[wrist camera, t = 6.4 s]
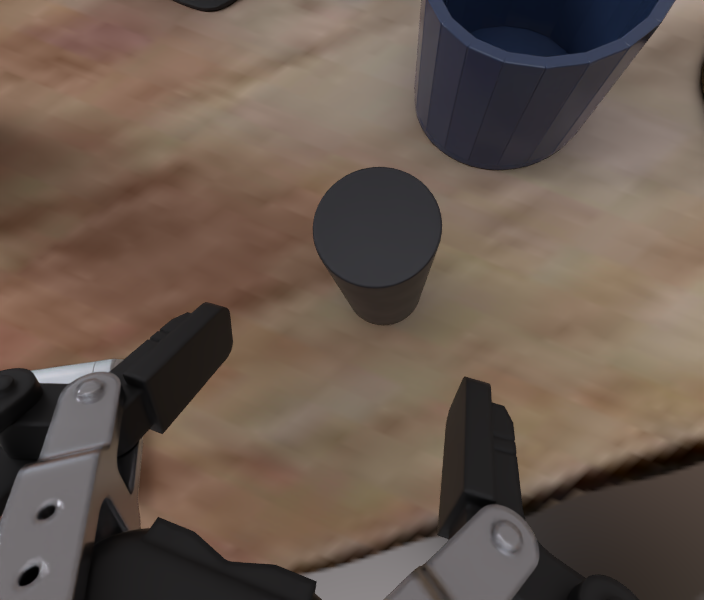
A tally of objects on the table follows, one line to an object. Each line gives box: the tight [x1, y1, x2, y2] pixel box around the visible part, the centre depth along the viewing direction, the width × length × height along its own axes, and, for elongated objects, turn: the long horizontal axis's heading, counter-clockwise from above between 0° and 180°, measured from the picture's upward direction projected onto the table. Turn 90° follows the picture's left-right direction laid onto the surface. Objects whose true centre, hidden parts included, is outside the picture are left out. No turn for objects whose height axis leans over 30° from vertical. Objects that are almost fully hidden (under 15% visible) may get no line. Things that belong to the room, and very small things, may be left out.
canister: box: [313, 167, 442, 325], centre depth 17 cm, size 5×5×10 cm
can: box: [414, 0, 675, 170], centre depth 20 cm, size 11×11×8 cm
